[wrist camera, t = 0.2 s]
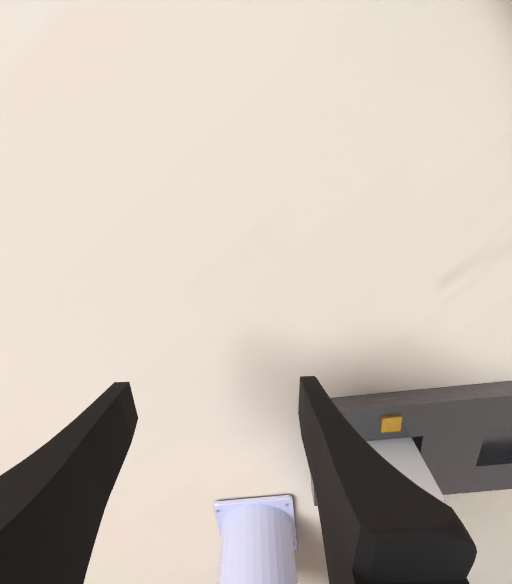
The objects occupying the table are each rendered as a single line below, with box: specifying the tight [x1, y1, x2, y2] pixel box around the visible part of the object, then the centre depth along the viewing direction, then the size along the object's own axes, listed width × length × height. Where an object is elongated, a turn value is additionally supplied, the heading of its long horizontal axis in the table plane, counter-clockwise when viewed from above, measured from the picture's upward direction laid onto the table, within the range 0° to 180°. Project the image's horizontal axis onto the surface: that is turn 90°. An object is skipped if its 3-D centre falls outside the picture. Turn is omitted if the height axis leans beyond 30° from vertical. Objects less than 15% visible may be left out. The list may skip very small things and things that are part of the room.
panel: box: [311, 381, 512, 506], centre depth 28 cm, size 12×24×2 cm, turn 96°
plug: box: [366, 437, 445, 503], centre depth 26 cm, size 3×4×7 cm
